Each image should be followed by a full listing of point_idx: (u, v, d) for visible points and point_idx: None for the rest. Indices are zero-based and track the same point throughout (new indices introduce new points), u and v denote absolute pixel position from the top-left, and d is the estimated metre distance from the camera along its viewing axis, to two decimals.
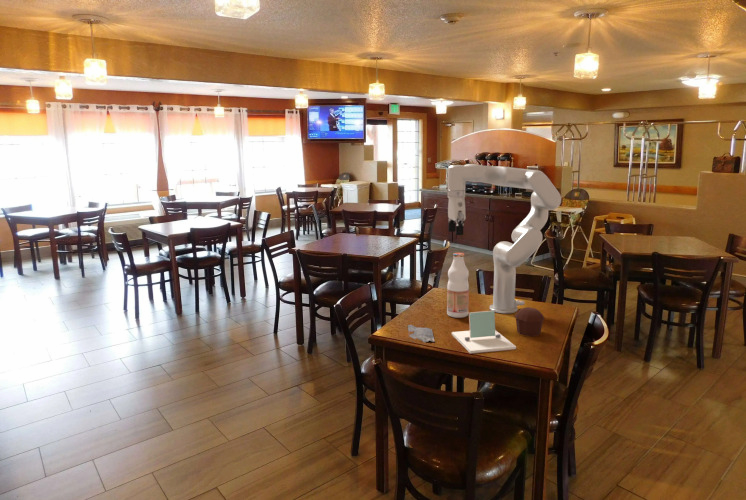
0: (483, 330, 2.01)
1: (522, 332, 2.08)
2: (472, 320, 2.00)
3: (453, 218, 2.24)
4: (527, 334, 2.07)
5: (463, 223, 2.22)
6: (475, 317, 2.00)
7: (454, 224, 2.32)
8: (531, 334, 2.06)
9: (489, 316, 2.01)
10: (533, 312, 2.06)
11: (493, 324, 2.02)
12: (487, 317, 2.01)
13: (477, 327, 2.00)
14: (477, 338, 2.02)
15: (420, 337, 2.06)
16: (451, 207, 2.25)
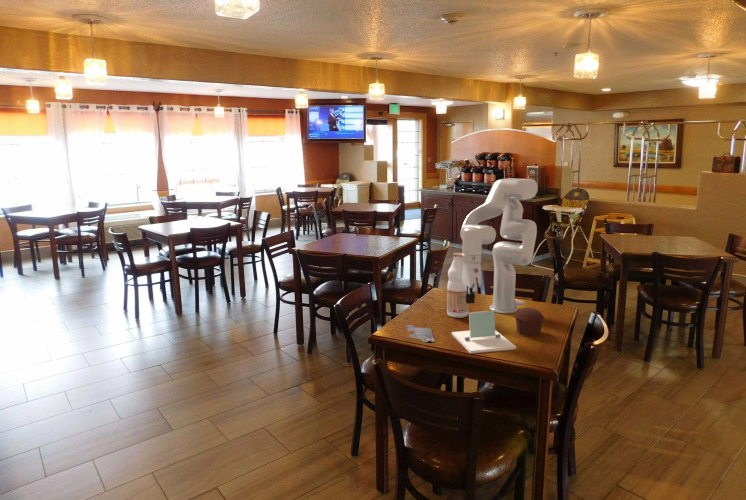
0: (483, 330, 2.01)
1: (522, 332, 2.08)
2: (472, 320, 2.00)
3: (468, 285, 2.07)
4: (527, 334, 2.07)
5: None
6: (475, 317, 2.00)
7: None
8: (531, 334, 2.06)
9: (489, 316, 2.01)
10: (533, 312, 2.06)
11: (493, 324, 2.02)
12: (487, 317, 2.01)
13: (477, 327, 2.00)
14: (477, 338, 2.02)
15: (420, 337, 2.06)
16: (466, 272, 2.08)
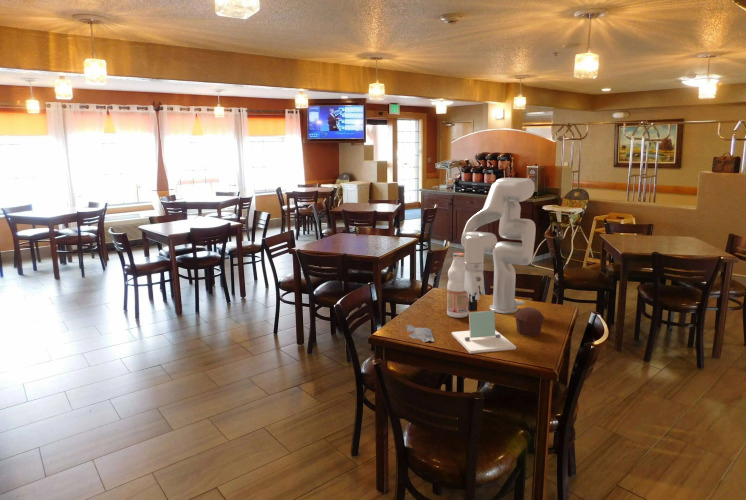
0: (483, 330, 2.01)
1: (522, 332, 2.08)
2: (472, 320, 2.00)
3: (470, 293, 2.05)
4: (527, 334, 2.07)
5: (477, 300, 2.08)
6: (475, 317, 2.00)
7: None
8: (531, 334, 2.06)
9: (489, 316, 2.01)
10: (533, 312, 2.06)
11: (493, 324, 2.02)
12: (487, 317, 2.01)
13: (477, 327, 2.00)
14: (477, 338, 2.02)
15: (420, 337, 2.06)
16: (468, 281, 2.06)
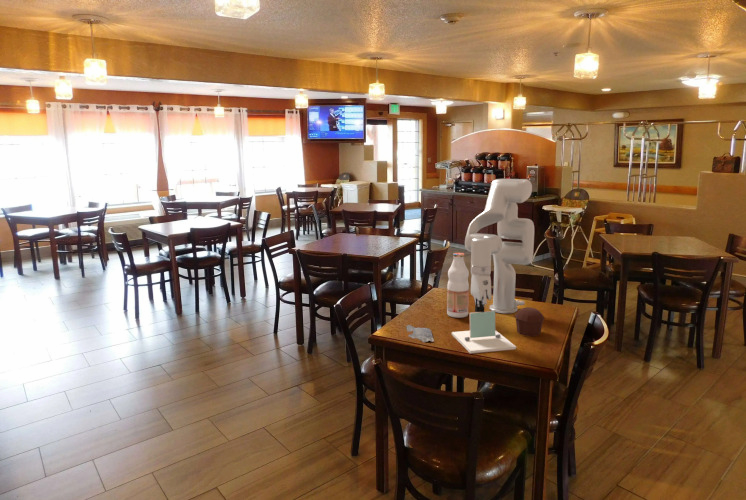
0: (483, 331, 2.01)
1: (522, 332, 2.08)
2: (472, 321, 2.00)
3: (477, 297, 1.99)
4: (527, 334, 2.07)
5: (484, 305, 2.01)
6: (476, 317, 2.00)
7: None
8: (531, 334, 2.06)
9: (490, 316, 2.01)
10: (533, 312, 2.06)
11: (493, 324, 2.01)
12: (488, 317, 2.01)
13: (477, 327, 2.00)
14: (477, 338, 2.02)
15: (419, 337, 2.06)
16: (475, 284, 1.99)
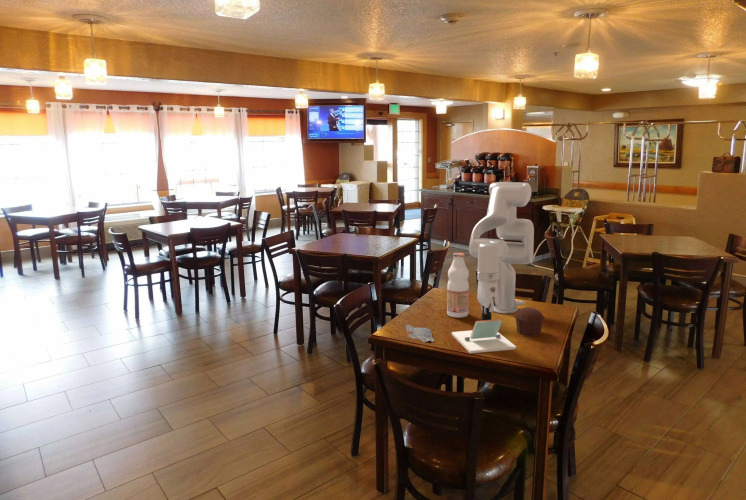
0: (485, 334, 1.99)
1: (522, 332, 2.08)
2: (477, 328, 1.96)
3: (484, 304, 1.93)
4: (527, 334, 2.07)
5: (491, 312, 1.95)
6: (481, 326, 1.95)
7: None
8: (531, 334, 2.06)
9: (495, 325, 1.96)
10: (533, 312, 2.06)
11: (497, 330, 1.99)
12: (493, 325, 1.96)
13: (480, 332, 1.98)
14: None
15: (419, 337, 2.06)
16: (482, 291, 1.93)
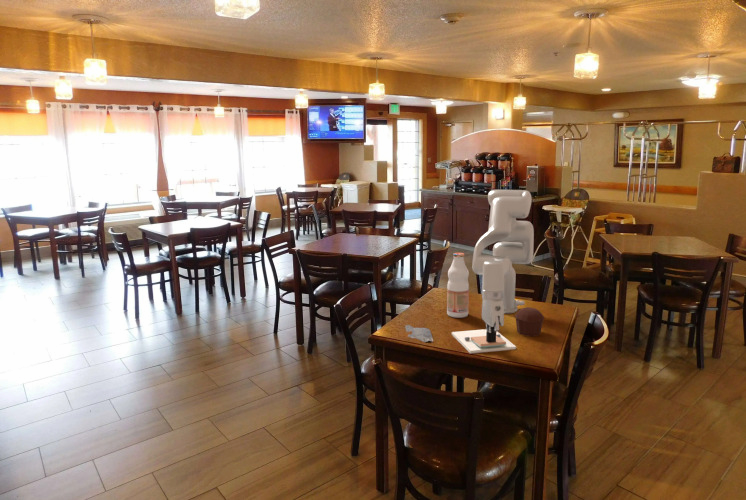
0: None
1: (522, 332, 2.08)
2: None
3: (489, 323, 1.89)
4: (527, 334, 2.07)
5: (496, 331, 1.91)
6: None
7: None
8: (531, 334, 2.06)
9: None
10: (533, 312, 2.06)
11: None
12: None
13: None
14: None
15: (419, 337, 2.06)
16: (486, 310, 1.90)
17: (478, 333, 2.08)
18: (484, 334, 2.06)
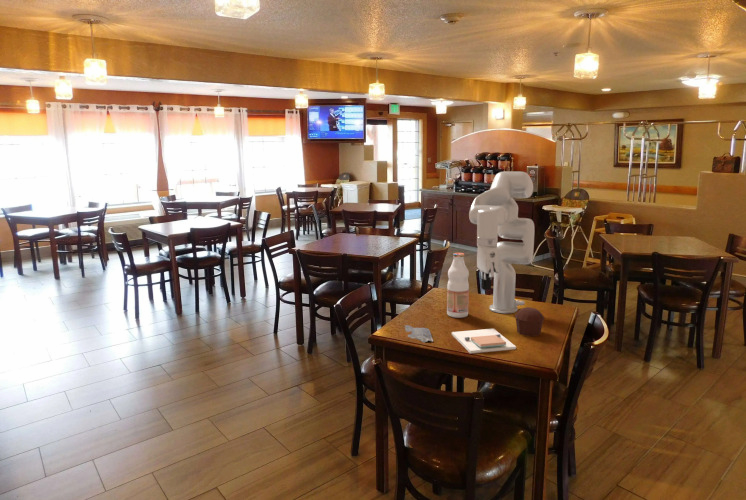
0: None
1: (522, 332, 2.08)
2: None
3: (484, 270, 1.94)
4: (527, 334, 2.07)
5: (491, 278, 1.96)
6: None
7: None
8: (531, 334, 2.06)
9: None
10: (533, 312, 2.06)
11: None
12: None
13: None
14: None
15: (419, 337, 2.06)
16: (481, 257, 1.95)
17: (478, 333, 2.08)
18: (484, 334, 2.06)
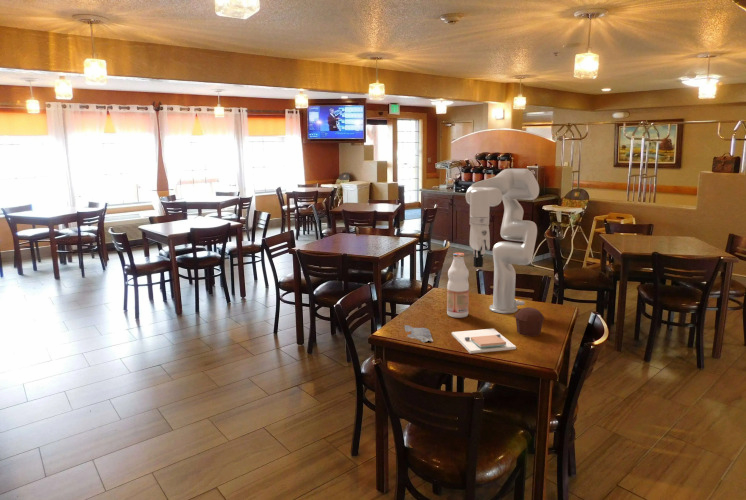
0: None
1: (522, 332, 2.08)
2: None
3: (476, 248, 2.03)
4: (527, 334, 2.07)
5: (483, 255, 2.05)
6: None
7: None
8: (531, 334, 2.06)
9: None
10: (533, 312, 2.06)
11: None
12: None
13: None
14: None
15: (418, 337, 2.06)
16: (474, 235, 2.03)
17: (478, 333, 2.08)
18: (484, 334, 2.06)
